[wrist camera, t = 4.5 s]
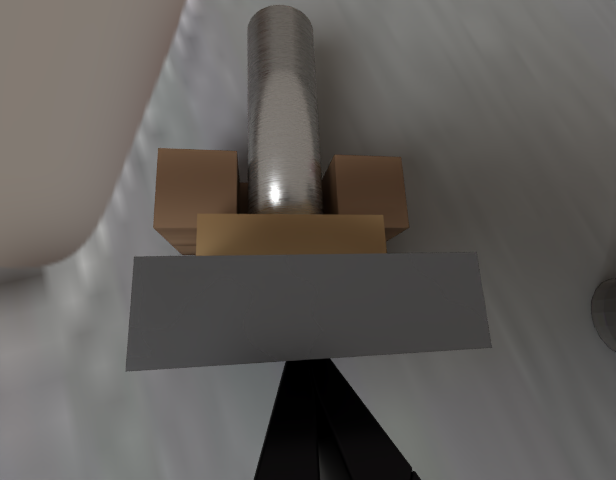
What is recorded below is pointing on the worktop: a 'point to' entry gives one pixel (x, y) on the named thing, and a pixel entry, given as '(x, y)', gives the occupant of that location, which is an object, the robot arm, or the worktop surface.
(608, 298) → the beverage cup
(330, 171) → the bearing block
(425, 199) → the worktop surface
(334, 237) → the collar
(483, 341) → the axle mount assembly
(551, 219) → the worktop surface
